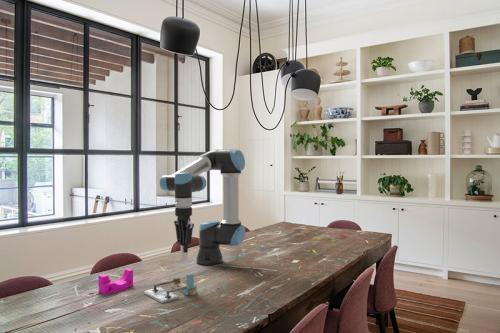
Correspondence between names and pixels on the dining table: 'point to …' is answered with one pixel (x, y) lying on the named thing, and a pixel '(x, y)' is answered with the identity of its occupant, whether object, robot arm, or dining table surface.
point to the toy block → (116, 286)
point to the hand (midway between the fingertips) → (184, 259)
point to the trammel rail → (176, 285)
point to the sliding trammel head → (185, 288)
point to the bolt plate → (160, 295)
